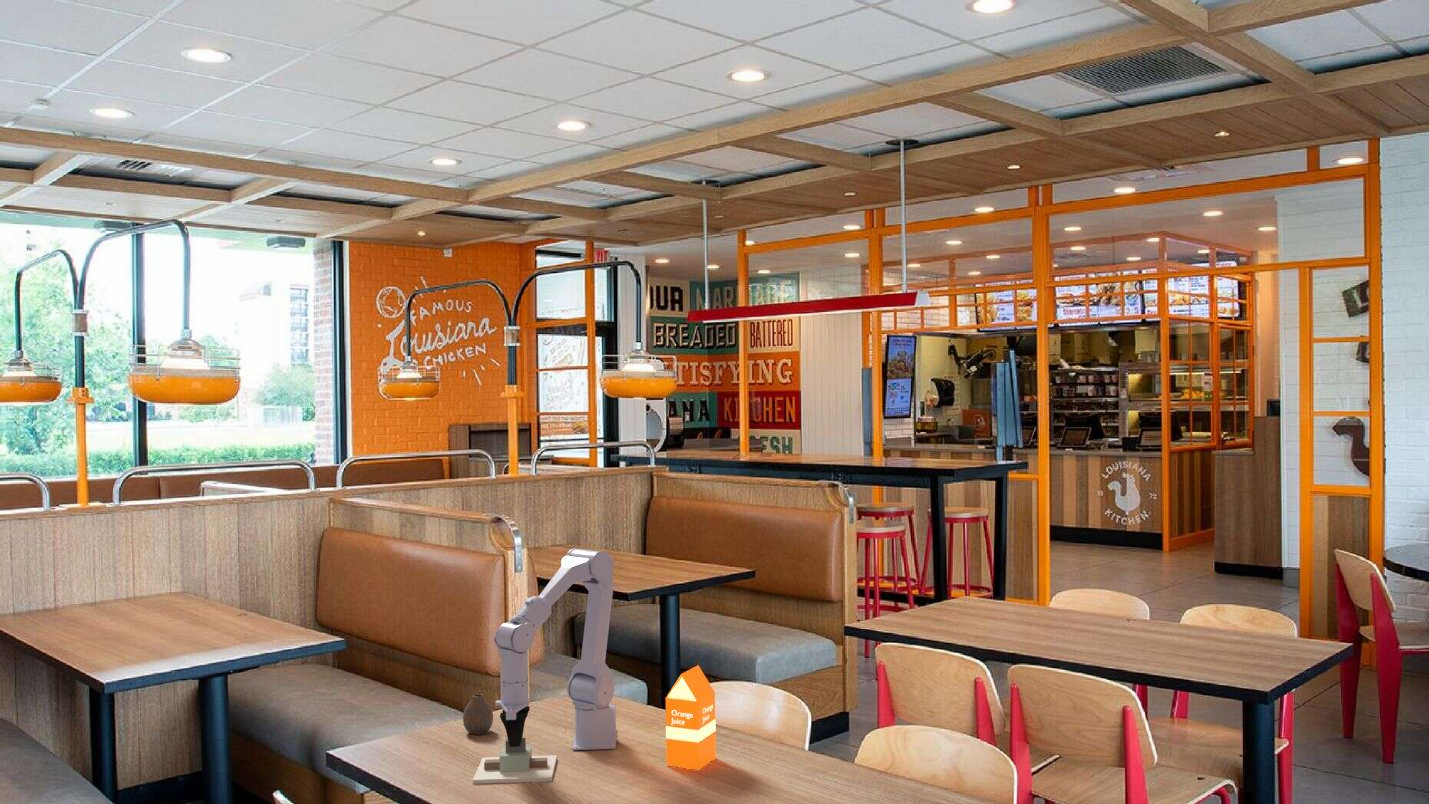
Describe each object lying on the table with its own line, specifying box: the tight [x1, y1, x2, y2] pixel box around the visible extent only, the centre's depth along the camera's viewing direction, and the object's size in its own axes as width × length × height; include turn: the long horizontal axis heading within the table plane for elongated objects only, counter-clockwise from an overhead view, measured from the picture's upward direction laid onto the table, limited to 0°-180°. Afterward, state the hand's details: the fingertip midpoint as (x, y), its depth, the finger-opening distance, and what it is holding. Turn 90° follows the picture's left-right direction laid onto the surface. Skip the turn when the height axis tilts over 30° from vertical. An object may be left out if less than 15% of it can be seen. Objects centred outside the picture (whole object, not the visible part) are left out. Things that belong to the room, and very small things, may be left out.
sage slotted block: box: [499, 737, 533, 773], centre depth 242 cm, size 6×6×6 cm
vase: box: [462, 693, 494, 736], centre depth 270 cm, size 7×7×9 cm
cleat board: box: [472, 754, 558, 785], centre depth 242 cm, size 16×14×2 cm
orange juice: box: [665, 664, 717, 771], centre depth 246 cm, size 8×9×20 cm
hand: (515, 744), depth 242 cm, fingers closed on sage slotted block, 2 cm apart
